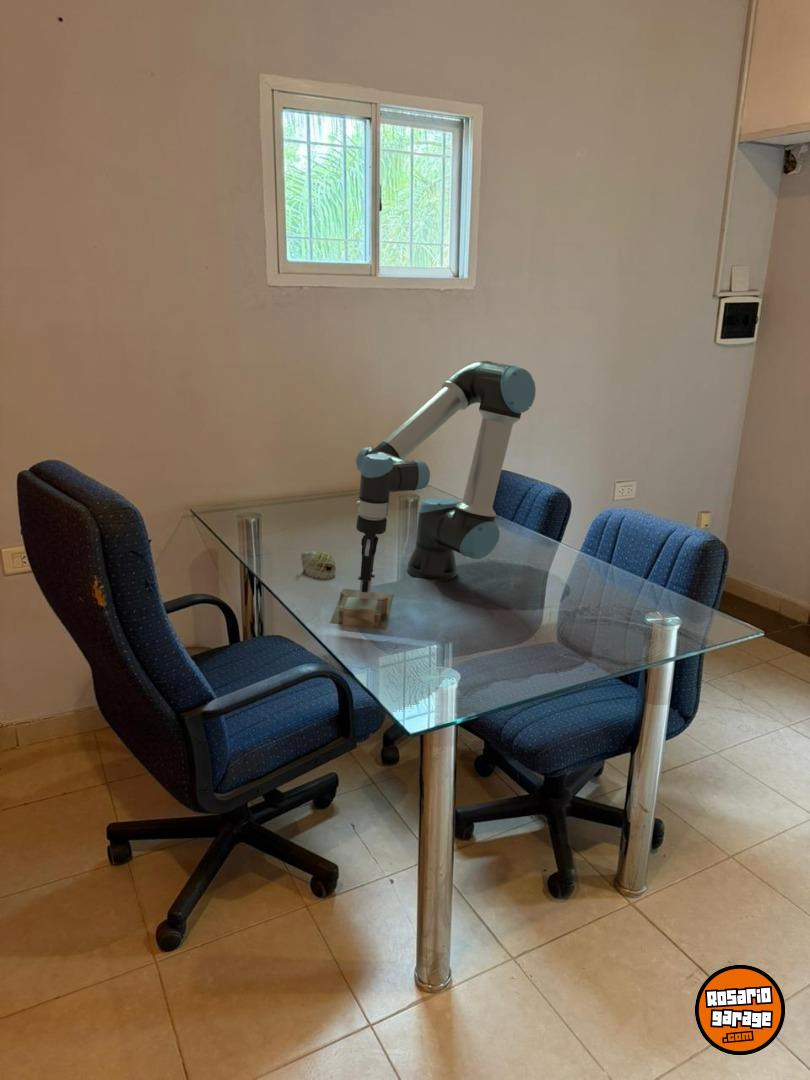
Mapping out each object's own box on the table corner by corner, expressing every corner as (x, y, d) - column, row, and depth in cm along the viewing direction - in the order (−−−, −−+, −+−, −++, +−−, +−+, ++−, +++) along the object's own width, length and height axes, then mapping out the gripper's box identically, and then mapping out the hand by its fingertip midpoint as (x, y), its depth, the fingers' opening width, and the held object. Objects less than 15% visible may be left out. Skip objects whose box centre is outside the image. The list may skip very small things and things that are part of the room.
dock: (393, 598, 206) (395, 580, 204) (385, 634, 184) (387, 613, 182) (342, 592, 206) (344, 573, 205) (329, 627, 185) (331, 606, 183)
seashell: (335, 582, 211) (321, 551, 208) (305, 592, 213) (291, 561, 211) (344, 569, 220) (330, 539, 218) (315, 578, 223) (301, 548, 220)
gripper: (360, 507, 195) (353, 590, 202) (354, 521, 183) (346, 609, 190) (389, 510, 195) (380, 594, 202) (384, 525, 182) (375, 613, 190)
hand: (364, 601), depth 196 cm, fingers closed
